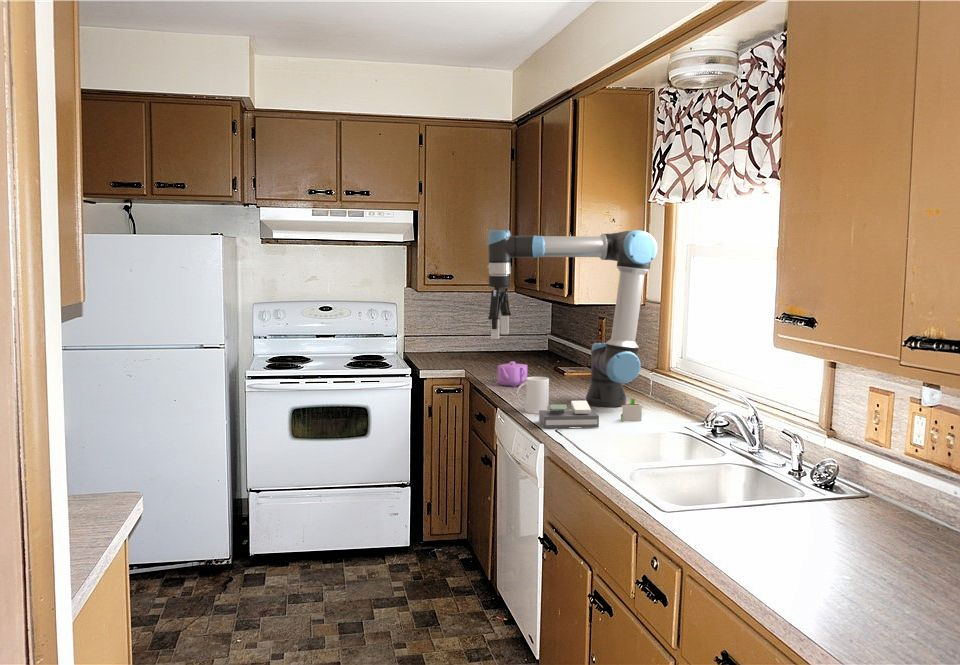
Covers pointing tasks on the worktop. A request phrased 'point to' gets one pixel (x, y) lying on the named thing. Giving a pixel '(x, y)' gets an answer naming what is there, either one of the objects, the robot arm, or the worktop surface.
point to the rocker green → (556, 407)
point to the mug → (536, 394)
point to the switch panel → (567, 419)
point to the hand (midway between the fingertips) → (500, 336)
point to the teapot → (512, 374)
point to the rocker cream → (580, 407)
